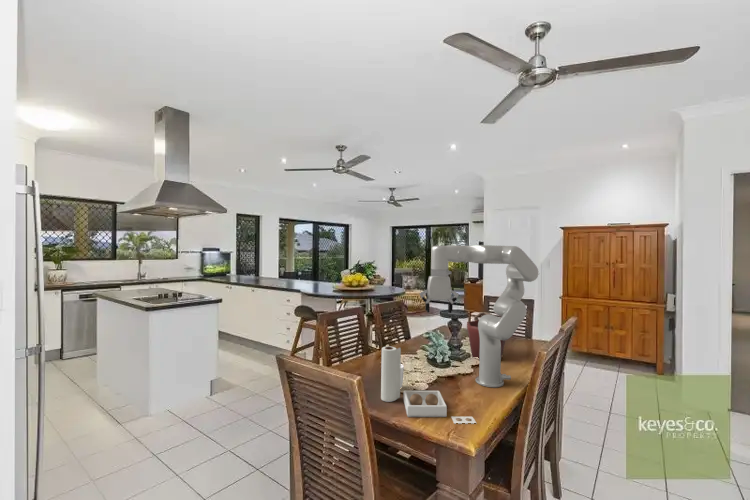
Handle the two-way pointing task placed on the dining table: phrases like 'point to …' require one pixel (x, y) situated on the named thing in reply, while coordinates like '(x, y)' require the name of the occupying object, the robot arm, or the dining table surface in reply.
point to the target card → (463, 420)
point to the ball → (431, 399)
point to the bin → (425, 405)
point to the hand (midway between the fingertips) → (438, 312)
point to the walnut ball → (416, 399)
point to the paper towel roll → (390, 373)
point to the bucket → (477, 336)
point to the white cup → (401, 375)
